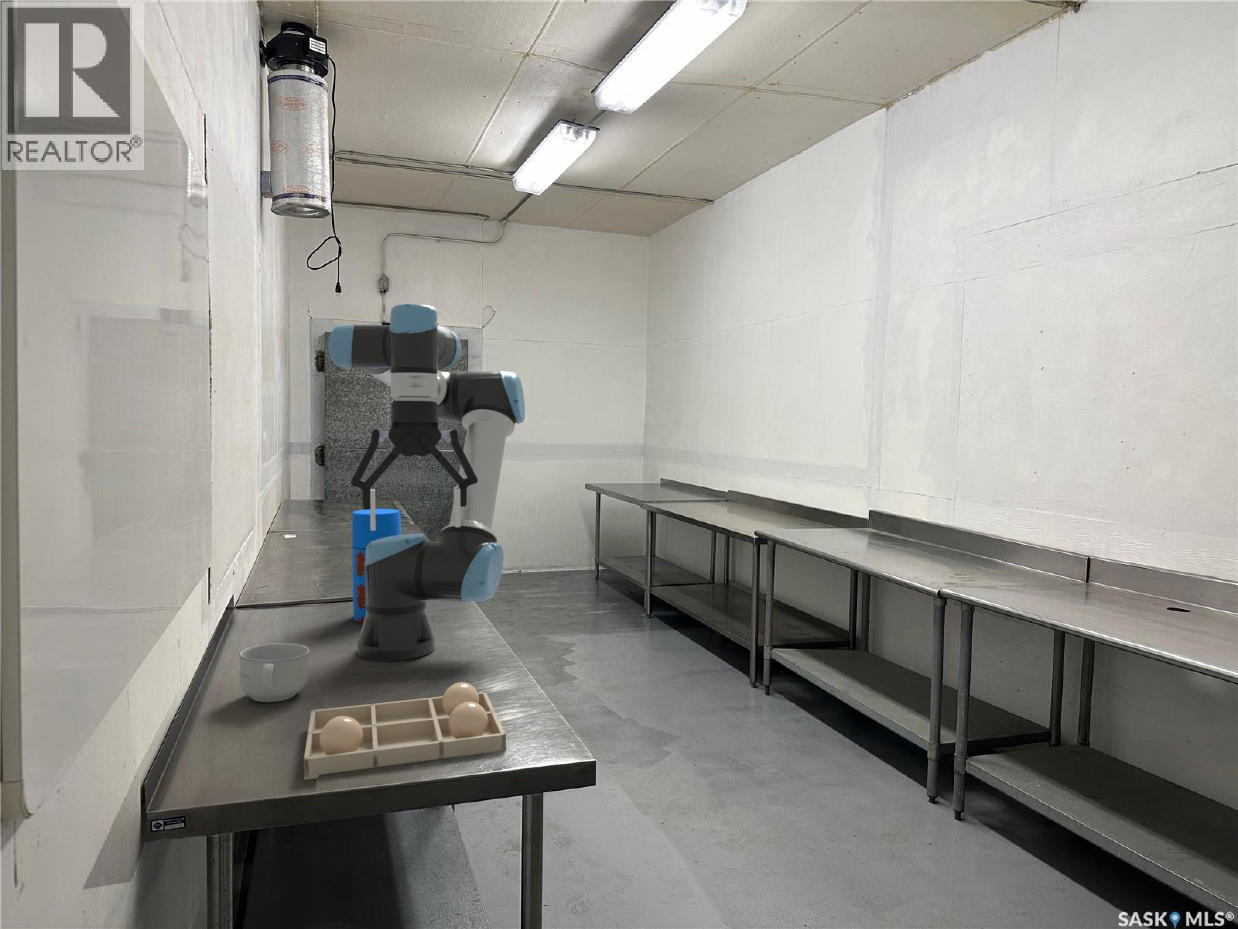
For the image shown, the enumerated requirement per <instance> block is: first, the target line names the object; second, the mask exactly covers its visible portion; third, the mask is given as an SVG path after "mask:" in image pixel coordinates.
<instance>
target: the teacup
mask: <svg viewBox="0 0 1238 929" xmlns="http://www.w3.org/2000/svg"><path fill="white" fill-rule="evenodd" d="M310 652H311V650H310V648H309V647H307V645H302V644H299V643H289V642H287V643H286V642H273V643H265V644H264V643H263V644H257V645H254V646H250V647H246V648H244V649H243V650H241V651H240V652H239V655H238V656H239V686H240V688H241V691H242V692H243V693H244V694H245V695H247V696H248V697H250V698H251V699H252V700H253V701H255V702H260V703H261V702H262V703H277V702H281V701H286V700H290V699H291V698H293V697H294V696H295V695H297V694H298V693H299V692H301V690H302V689H303V688H304V687H305V685H306V683H307V680H308V673H309V671H308V670H309V659H310V658H309V657H310Z"/></svg>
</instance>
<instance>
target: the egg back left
mask: <svg viewBox="0 0 1238 929" xmlns="http://www.w3.org/2000/svg"><path fill="white" fill-rule="evenodd" d="M478 693H479V692H478V691H477V689H476V688H475V687H474V685H472V684H471V683H468V682H461V681H460V682H456V683H453V684H452V685H450V686H449V687H448V688H447V689H446V690H445V692H444V694H443V695H442V696H443V700H442V705H443V709H444V711H445V713H446V714H447V715H448V716H450V714H451V713H452V711H453V710H454V708H455V707H457V706H458V705H459V704H461V703H464V702H475V703H477V704H479V695H478Z"/></svg>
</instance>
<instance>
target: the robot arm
mask: <svg viewBox="0 0 1238 929" xmlns="http://www.w3.org/2000/svg"><path fill="white" fill-rule="evenodd" d="M328 351H329V352H328V353H329V355H330V359H331V361H332V363H333V364H334V365H335V366H336V367H338V368H343V369H344V368H346V369H355V368H356V369H361V370H362V371H364V372H366V373H368V374H369V375H371V376H373V377H374V378H375V379H377V380H378V381H380V382H382V383H384V384H385V385H386V386H388V387H390V397H391V398H393V399H394V400H393V401H392V402H391V403H390V422H391V424H390V430H388V431H386V430H381V429H380V430H379V429H376V428H375V429H374V428H373V429H372V431H371V434H370V435H371V436H370V443H369V445H367V448H366V450H365V452H364V455H363V457H362V458H361V460H360V462H359V464H358V466H357V468H356V470H355V472H354V474H353V476H352V478H351V480H350V484H351V486H352V487H356V488H358V489H361V491H362V509H363V510H369V509H370V528H371V531H373V530H376V519H375V509H376V489H375V488H372V486H374V485H375V483H376V482H377V481H378V480H379V479H380V478H381V476H382V475H383V474H384V473H385V472H386V470H387V469H389V467H390V466H391V465H392V464H393V463H394V462H395V460H396V459H397V458H398V457H399V456H400V455H402V456H405V457H406V458H407V457H414V456H418V457H427V456H428V455H431V456H432V457H433V458H434V459H435V460H436V462H437V463H438V464H439V465H440V466H441V468H442V469H444V471H445V472H446V473H447V474H448V475H449V476H450V477H451V478H452V479H453V480H454V482H455V483H456V486H454V487H453V503H452V504H453V505H452V509H451V515H450V519H449V524H447V525H446V526H444V527H443V528H441V530H440V532H439V537H438V541H427V537H426V534H424V533H423V532H422V533H418V532H417V533H415V532H414V533H406V534H401V535H397V536H391V537H386V538H381V539H378V540H375V541H372V542H371V543H369V544H368V546H367V548H366V559H365V564H364V565H365V578H366V617H365V620H364V623H363V624H362V627H361V629H360V632H359V635H358V639H357V647H356V648H357V652H356V653H357V655H358V656H359V657H360V658H363V659H366V660H370V661H377V662H393V661H394V662H395V661H405V660H411V659H412V660H413V659H416V658H421V657H424V656H426V655H428V654H431V653H432V652H434V651H435V649H436V637H435V633H434V629H433V627H432V625H431V621H430V618H429V616H428V613H427V601H436V602H437V601H438V602H439V601H440V602H461V603H462V602H463V603H466V604H467V603H469V604H470V603H471V602H485V601H487V600H490V599H491V598H493V596H494V595H495V593H496V591H497V590H498V587H499V584H500V582H501V579H502V578H501V577H502V574H503V569H504V565H503V562H504V550H503V547H502V545H501V544H499V543H498V538H497V536H496V534H495V533H494V532H493V531H492V529H493V528H492V527H493V523H494V522H493V521H494V515H495V509H496V503H497V496H498V491H499V485H500V484H499V482H500V479H501V478H500V477H501V471H502V465H503V459H504V458H503V457H504V452H505V445H506V440H507V439H506V438H509V437H510V436H511V435H512V434H513V433H514V431H515V425H516V424H522V423H523V422H524V420H525V416H526V406H525V405H526V404H525V395H524V389H523V385H522V384H523V383H522V382H521V378H520V377H519V375H518V374H517V373H516V372H514V371H502V370H498V371H465V370H464V371H462V370H461V371H458V370H454V371H453V370H451V371H449V370H448V371H445V370H446V369H449V368H451V367H453V366H454V365H456V364H457V362H458V361H459V360H460V357H461V354H462V343H461V340H460V339H459V337H458V336H457V334H456V333H455V332H453V330H451V329H449V328H448V327H446V326H444V325H439V320H438V311H437V309H436V307H434V306H432V305H427V304H419V303H418V304H417V303H402V304H396V305H394V306H393V307H392V308H391V310H390V318H389V325H388V324H382V325H381V324H377V325H376V324H354V323H353V324H348V325H338V326H335V327H334V328H333V329H332V331H331V332H330V334H329V341H328ZM444 369H445V370H444ZM440 370H444V371H440ZM439 420H441V421H445V422H449V423H450V422H451V423H461V424H462V426H463V428H464V430H466V435H465V440H464V446H463V448H462V446H461V444H460V442H459V434H458V433H459V432H458V430H456V429H455V428H453V429H452V428H451V429H450V430H440V427H439ZM442 438H443V439H444V441H445V442H446V443H448V444H450V447H451V449H452V451H453V452H454V454H455V456H456V458H457V460H458V462H459V465H460V467H459V472H458V471H457V470H456V468H454V466H453V465H452V464H451V463H450V462H449V461H448V459H447V458H446V457H445V456H444V455H443V453H442V452H440V450H439V449H438V448H437V447H436V446H437V444H438V443H439V442H440V440H441V439H442ZM385 439H389V441H391V443H392V444H393V445H394V447H393V448H392V449H391V450H390V452H389V453H388V454H387V455H386V456H385V458H383V460H382V461H381V462H380V463H379V464H378V465H377V466H376V468H375V469H374V471H372V472H371V474H370V475H369V476H368V477H367V478H366V479H365V480H364V479H363V480H362V478H363V476H364V475H365V472H366V470H367V468H368V466H369V464H370V462H371V460H372V458H373V456H374V455H375V452H376V451H377V449H378V445H379V444H382V443H384V442H385Z"/></svg>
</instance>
